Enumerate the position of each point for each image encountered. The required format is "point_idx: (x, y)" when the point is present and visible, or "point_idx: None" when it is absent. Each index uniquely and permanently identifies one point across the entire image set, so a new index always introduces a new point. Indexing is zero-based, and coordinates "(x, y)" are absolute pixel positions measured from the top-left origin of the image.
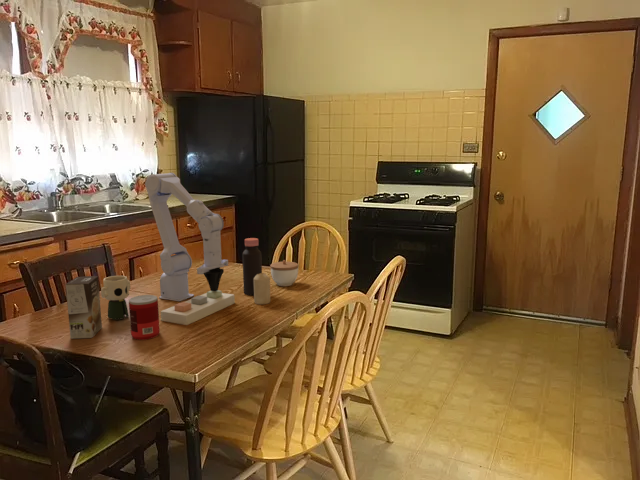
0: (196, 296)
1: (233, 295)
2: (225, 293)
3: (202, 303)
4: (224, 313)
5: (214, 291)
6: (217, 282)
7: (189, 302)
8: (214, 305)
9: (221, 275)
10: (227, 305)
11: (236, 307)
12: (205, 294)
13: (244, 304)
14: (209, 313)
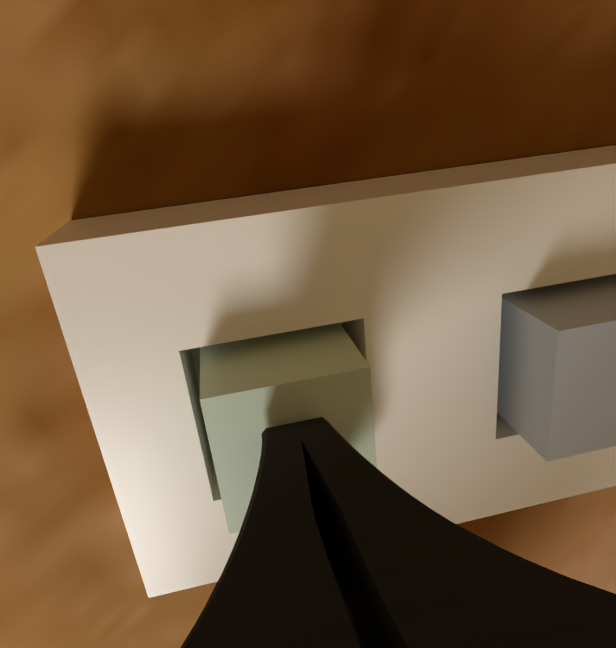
0: (592, 443)
1: (64, 241)
2: (90, 399)
3: (607, 290)
4: (463, 24)
5: None
6: (311, 508)
7: None
8: (521, 172)
9: (208, 633)
10: (232, 200)
11: (192, 59)
12: None
13: (11, 51)
14: (572, 153)
